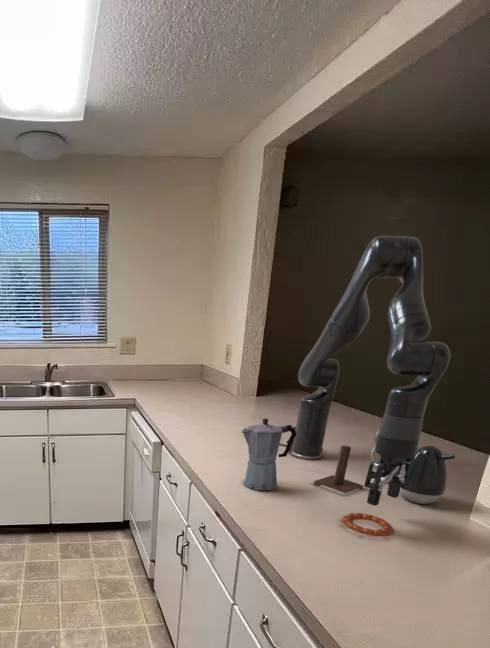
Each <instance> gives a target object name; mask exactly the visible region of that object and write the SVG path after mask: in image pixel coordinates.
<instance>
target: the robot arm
mask: <svg viewBox="0 0 490 648" xmlns="http://www.w3.org/2000/svg"><path fill="white" fill-rule="evenodd" d="M362 253H363V254H362V255H361V257H360V259H359V262H358V263H357V266H356V269H355V271H354V272H353V275H352V277H351V279H350V282H349V283H348V285H347V287H346V289H345V292H344V293H343V295H342V297H341V299H340V301H339V303H338V304H337V305H336V307H335V309H334V311H333V312H332V314H331V316H330V317H329V319H328V320H327V323H326V325H325V327H324V329H323V331H322V333H321V334H320V336H319V337H318V339H317V341H316V343H315V344H314V346H313V347H312V349H311V350H310V351H309V353H308V354H307V355H306V357H305V358H304V360H303V361H302V364H301V365H300V367H299V370H298V374H297V378H298V383H299V384H300V385H301V386H303V387H307V388H317V389H316V390H315V391H314V392H311V393H309V394H307V395H304V396H302V397H301V398H300V399H299V403H298V409H297V410H298V411H297V416H296V422H295V426H292V427H293V428H294V430H295V431H296V433H297V434H296V436H295V438H294V441H293V443H292V445H291V447H290V449H289V452H288V454H291V455H292V456H293V457H296V458H298V459H304V460H319V459H321V458H322V453H323V451H324V448H323V447H324V441H325V436H326V430H327V425H328V421H329V415H330V410H331V404H332V402H333V399H334V396H335V392H336V388H337V384H338V380H339V376H340V363H339V361H338V360H337V359H336V358H333V357H332V356H333V355H335V354H337V353H339V352H340V351H342V350H344V349H345V348H347V347H349V346H350V345H351V344H353V343H354V342H355V341H356V340H357V339H358V338H359V337H360V335H361V334H362V333H363V331H364V330H365V327H366V326H367V325H368V323H369V321H370V317H371V309H370V303H369V298H368V292H367V290H368V287H369V284H370V283H371V282H372V281H373V279H375V278H381V279H382V278H384V279H398V280H399V282H400V284H401V286H400V287H399V289H398V290H397V292H396V293H395V294H394V296H393V297H392V298H391V300H390V302H389V304H388V307H387V309H386V310H387V311H386V318H387V324H388V328H389V332H390V341H389V348H388V353H387V357H386V367H387V369H388V370H389V371H390V373H392V374H393V375H396V376H408V377H410V376H411V377H416V378H415V379H414V380H413V381H412V382H410V383H408V384H404V385H397V386H395V387H392V388H391V389H390V391H389V393H388V397H387V401H386V405H385V409H384V413H383V416H382V419H381V421H380V424H379V430H378V431H379V433H378V437H377V442H376V443H375V445H374V447H375V451H374V452H375V453H376V454H378V455H379V456H380V457H379V459H378V461H377V462H376V463H375V462H372V461H370V463H369V466H368V470H367V474H366V478H365V480H364V484H363V487H365V488H367V489H369V491H368V495H367V498H366V499H367V500H366V503H367V504H369V505H371V506H374V507H377V506H378V505H379V504H380V500H381V495H382V492H383V491H382V490H383V489H384V487H385V486H386V484H388V488H387V492H386V495H387V496H389V497H391V498H393V499H397V498H398V497H399V495H400V488H401V484H402V483H403V482H404V480H405V479H408V478H409V475H410V470H411V466H412V462H413V458H414V456H415V453H416V451H417V450H418V445H419V442H420V438H421V434H422V429H423V425H424V416H425V413H426V410H427V409H426V408H427V405H428V402H429V398H430V396H431V395H432V393H433V391H434V390H435V388H436V386H437V384H438V383H439V381H440V380H441V378H442V376H443V375H444V373H445V372H446V370H447V368H448V366H449V364H450V362H451V361H450V360H451V351H450V347H449V346H448V345H447V344H446V343H445V342H441V341H423V340H425V339H426V338H427V337H428V336H429V335H430V333H431V331H432V330H431V329H432V326H431V320H430V317H429V313H428V309H427V306H426V302H425V297H424V259H423V258H424V257H423V253H424V252H423V247H422V243H421V241H420V239H419V238H417V237H415V236H411V235H386V234H385V235H377V236H375V237H374V238H372V240H370V241H369V243H368V245H367V246H366V248H365V249H364V251H363V252H362ZM330 357H332V358H330ZM288 442H289V439H288V440H287V441H286V444H283V443H280V444H279V446H282V447H285V448H286V447H287V444H288ZM405 470H406V472H405ZM384 477H385V478H384ZM380 481H381V482H380ZM389 482H390V483H389Z"/></svg>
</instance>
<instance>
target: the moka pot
mask: <svg viewBox="0 0 490 648" xmlns="http://www.w3.org/2000/svg"><path fill="white" fill-rule="evenodd" d="M268 423H269V419H268V418H263V419H262V423H258V424H252V425H248V426H247V427H245V428H243V429H242V430H241V434H242V435H243V436H244V439H245V441H246V443H247V447H248V449H247V450H248V461H247V463H246V464H247V467H246V473H245V478H244V486H246V487H247V488H248V489H252V490H255V491H256V490H257V491H271V490H274V489H276V488H277V487H278V478H277V477H278V476H277V463H276V460H277V456H278V458H285V457H287V456H288V454H289V449H290V447H291V445H292V443H293V441H294V438H295V436H296V434H297V433H296V431H295V430H294V428H293V427H294V426H292V425H291V424H287V425H279V426H277V425H274V424H268ZM288 432H290V434H291V435H290V436H289V438H288V440H289V442H288V444H287V443H286V445H287V447H286V446H285V449H284V452H283V453H279V454H278V452H279V449H280V445H279V444H281V439H282V434H285V433H288Z"/></svg>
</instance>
